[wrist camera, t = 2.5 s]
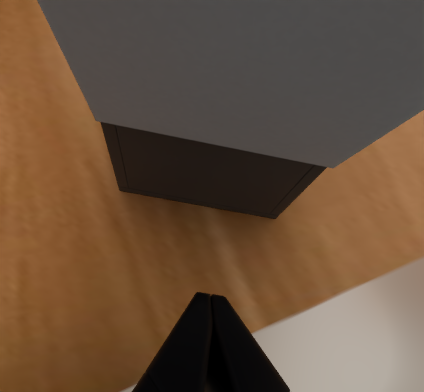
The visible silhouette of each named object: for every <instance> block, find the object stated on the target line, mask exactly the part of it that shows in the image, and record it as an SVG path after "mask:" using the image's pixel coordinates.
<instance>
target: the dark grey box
mask: <svg viewBox="0 0 424 392" xmlns="http://www.w3.org/2000/svg"><path fill="white" fill-rule="evenodd" d="M101 126H102V129H103V133H104V136H105V140H106V144H107V147H108V151H109V154H110V158H111V162H112V165H113V169H114V172H115V176H116V180H117V183H118V187H119V190H120V191H125V192H130V193H136V194H141V195H147V196H152V197H158V198H163V199H169V200H174V201H180V202H185V203H191V204H196V205H202V206H207V207H213V208H218V209H224V210H229V211H235V212H240V213H246V214H251V215H257V216H262V217H268V218H273V219H276V218H277V217H278V216H279V215H280V214H281V213H282V212H283V211H284V210H285V209H286V208H287V207H288V206H289V205H290V204H291V203H292V202H293V201H294V200H295V199H296V198H297V197H298V196H299V195H300V194H301V193H302V192H303V191H304V190H305V189H306V188H307V187H308V186H309V185H310V184H311V183H312V182H313V181H314V180H315V179H316V178H317V177H318V176H319V175H320V174H321V173H322V172H323V171H324V170H325V169H326V168H327V167H324V166H319V165H314V164H309V163H304V162H299V161H294V160H289V159H284V158H279V157H274V156H269V155H264V154H259V153H254V152H249V151H244V150H239V149H234V148H229V147H224V146H219V145H214V144H209V143H204V142H199V141H194V140H189V139H184V138H179V137H174V136H169V135H164V134H159V133H154V132H149V131H144V130H139V129H134V128H129V127H124V126H119V125H114V124H109V123H104V122H101Z"/></svg>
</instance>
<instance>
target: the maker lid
mask: <svg viewBox="0 0 424 392" xmlns="http://www.w3.org/2000/svg"><path fill="white" fill-rule="evenodd" d="M37 1H38V3H39V5H40V7H41V9H42V11H43V13H44V15H45V17H46V19H47V21H48V23H49V25H50V27H51V29H52V31H53V33H54V36H55V38H56V40H57V42H58V44H59V46H60V48H61V50H62V52H63V54H64V56H65V58H66V60H67V62H68V64H69V66H70V68H71V70H72V72H73V74H74V77H75V79H76V81H77V83H78V85H79V87H80V89H81V91H82V93H83V95H84V97H85V99H86V101H87V103H88V105H89V107H90V109H91V111H92V113H93V115H94V117H95V120H96V121H99V122H104V123H109V124H114V125H119V126H124V127H129V128H134V129H139V130H144V131H149V132H154V133H159V134H164V135H169V136H174V137H179V138H184V139H189V140H194V141H199V142H204V143H209V144H214V145H219V146H224V147H229V148H234V149H239V150H244V151H249V152H254V153H259V154H264V155H269V156H274V157H279V158H284V159H289V160H294V161H299V162H304V163H309V164H314V165H319V166H324V167H329V168H334V167H336V166H337V165H339V164H341V163H342V162H344V161H345V160H347V159H348V158H350V157H351V156H353V155H354V154H356V153H358V152H359V151H361V150H362V149H364V148H365V147H367V146H368V145H370V144H371V143H373V142H375V141H376V140H378V139H379V138H381V137H382V136H384V135H385V134H387V133H388V132H390V131H392V130H393V129H395V128H396V127H398V126H399V125H401V124H402V123H404V122H405V121H407V120H409V119H410V118H412V117H413V116H415V115H416V114H418V113H419V112H421V111H423V110H424V0H37Z"/></svg>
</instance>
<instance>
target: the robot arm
mask: <svg viewBox="0 0 424 392" xmlns="http://www.w3.org/2000/svg"><path fill="white" fill-rule="evenodd" d="M132 392H290V389H289V388H288V386H287V385H286V383H285V382H284V381H283V379H282V377H281V376H280V375H279V373H278V372H277V370H276V369H275V368H274V366H273V365H272V363H271V362H270V360H269V359H268V358H267V356H266V355H265V353H264V352H263V350H262V349H261V347H260V346H259V345H258V343H257V342H256V340H255V339H254V337H253V336H252V334H251V333H250V332H249V330H248V329H247V327H246V326H245V324H244V323H243V322H242V320H241V319H240V317H239V316H238V314H237V313H236V312H235V310H234V309H233V307H232V306H231V304H230V303H229V301H228V300H227V299H226V297H224V296H220V295H214V294H212V295H211V296H210V294H208V293H201V292H197V293H196V294H195V295H194V297H193V298H192V300H191V301H190V303H189V305H188V306H187V308H186V309H185V311H184V312H183V314H182V315H181V317H180V319H179V320H178V322H177V323H176V325H175V326H174V328H173V329H172V331H171V333H170V334H169V336H168V337H167V339H166V340H165V342H164V343H163V345H162V347H161V348H160V350H159V351H158V353H157V354H156V356H155V357H154V359H153V360H152V362H151V364H150V365H149V367H148V368H147V370H146V372H145V373H144V374H143V376H142V377H141V379H140V380H139V382H138V383H137V385H136V386H135V388H134V389H133V391H132Z"/></svg>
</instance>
